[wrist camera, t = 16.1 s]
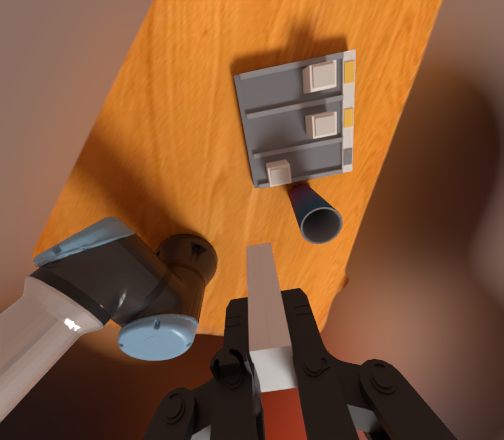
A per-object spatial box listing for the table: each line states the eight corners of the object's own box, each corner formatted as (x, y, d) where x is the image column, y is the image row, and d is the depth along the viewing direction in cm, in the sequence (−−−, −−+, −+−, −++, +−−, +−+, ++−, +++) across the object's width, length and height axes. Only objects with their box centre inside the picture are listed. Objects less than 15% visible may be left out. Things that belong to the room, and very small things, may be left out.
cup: (292, 175, 47) (311, 201, 33) (320, 184, 48) (350, 213, 34) (280, 203, 49) (293, 238, 36) (307, 211, 51) (330, 248, 37)
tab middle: (306, 136, 41) (313, 139, 37) (305, 115, 40) (312, 116, 35) (327, 132, 41) (337, 134, 37) (327, 111, 39) (337, 111, 35)
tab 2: (303, 94, 38) (311, 92, 34) (302, 70, 36) (310, 64, 32) (326, 89, 38) (337, 86, 33) (326, 65, 36) (337, 59, 32)
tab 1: (267, 179, 45) (270, 187, 40) (265, 162, 43) (267, 168, 39) (287, 176, 45) (292, 183, 40) (285, 159, 43) (290, 164, 39)
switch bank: (254, 185, 47) (254, 189, 45) (234, 77, 38) (233, 75, 36) (346, 167, 46) (352, 171, 44) (348, 53, 37) (356, 48, 35)
